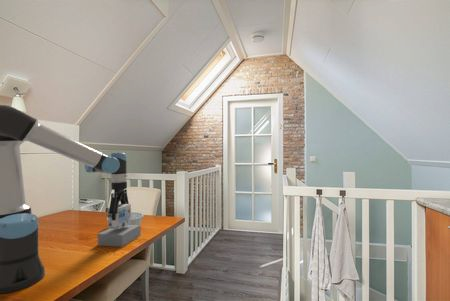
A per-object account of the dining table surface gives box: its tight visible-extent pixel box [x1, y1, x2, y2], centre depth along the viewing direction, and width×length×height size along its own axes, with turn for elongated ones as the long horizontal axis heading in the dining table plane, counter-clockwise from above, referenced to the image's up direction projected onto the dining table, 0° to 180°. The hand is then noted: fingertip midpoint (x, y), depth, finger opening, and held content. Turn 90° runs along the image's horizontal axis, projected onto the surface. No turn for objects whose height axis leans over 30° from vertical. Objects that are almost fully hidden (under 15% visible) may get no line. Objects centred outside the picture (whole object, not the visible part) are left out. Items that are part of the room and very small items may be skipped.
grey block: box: [97, 224, 142, 248], centre depth 124 cm, size 16×14×6 cm
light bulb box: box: [107, 203, 132, 229], centre depth 124 cm, size 11×7×11 cm, turn 169°
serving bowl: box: [106, 211, 144, 225], centre depth 146 cm, size 21×21×7 cm
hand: (119, 222), depth 124 cm, fingers closed on light bulb box, 11 cm apart
